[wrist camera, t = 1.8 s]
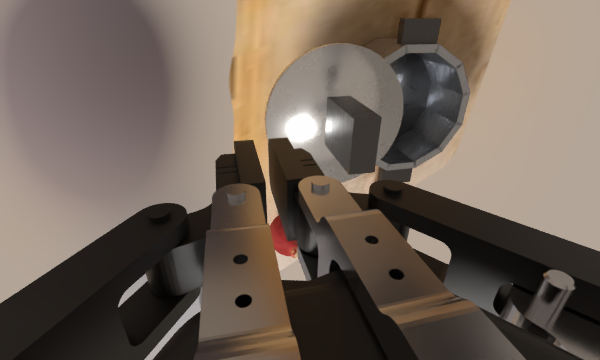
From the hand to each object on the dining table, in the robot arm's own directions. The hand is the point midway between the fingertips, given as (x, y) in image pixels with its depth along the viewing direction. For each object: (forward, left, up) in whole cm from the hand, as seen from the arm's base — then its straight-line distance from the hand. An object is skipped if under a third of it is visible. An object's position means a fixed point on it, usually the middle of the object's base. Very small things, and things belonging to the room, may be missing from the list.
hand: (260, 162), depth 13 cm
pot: (+5, +19, -27) cm, 33 cm away
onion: (+22, +6, -27) cm, 35 cm away
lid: (+5, +10, -20) cm, 23 cm away
